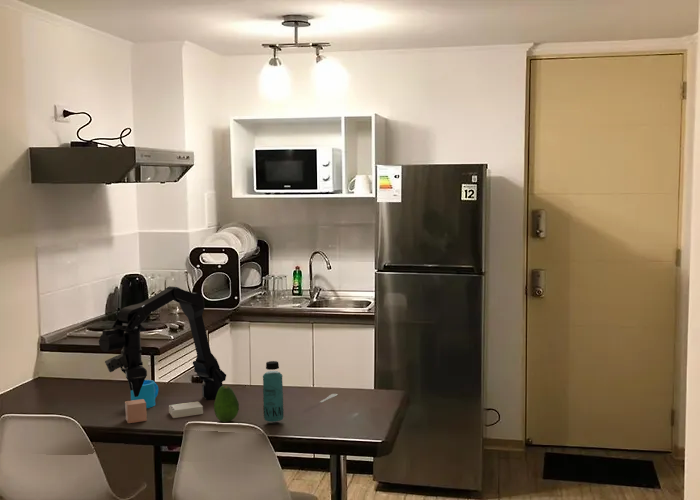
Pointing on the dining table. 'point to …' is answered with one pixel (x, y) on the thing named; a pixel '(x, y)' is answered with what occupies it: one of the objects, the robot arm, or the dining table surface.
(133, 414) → the tan cube
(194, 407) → the slab
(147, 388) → the mug
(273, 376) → the beverage bottle
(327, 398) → the butter knife
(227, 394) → the avocado
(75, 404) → the dining table surface
